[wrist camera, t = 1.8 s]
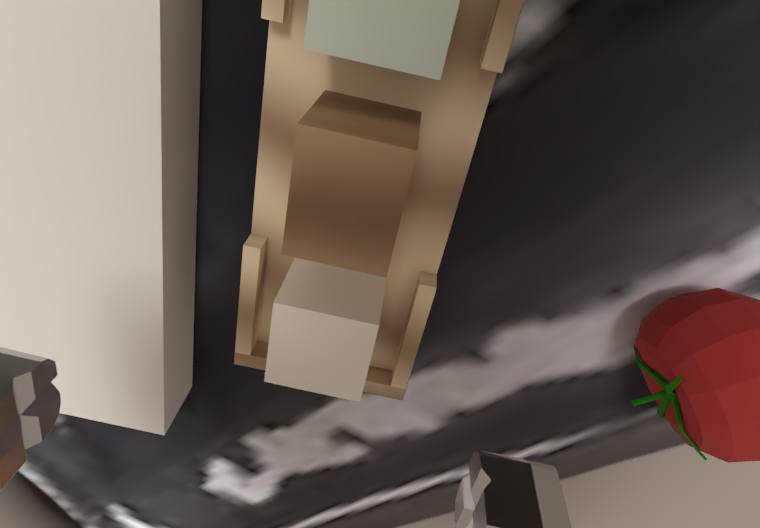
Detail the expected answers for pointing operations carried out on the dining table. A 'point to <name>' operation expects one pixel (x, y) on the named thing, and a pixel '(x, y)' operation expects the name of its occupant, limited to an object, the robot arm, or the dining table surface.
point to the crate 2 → (324, 329)
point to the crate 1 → (384, 32)
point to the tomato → (706, 370)
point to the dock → (101, 200)
